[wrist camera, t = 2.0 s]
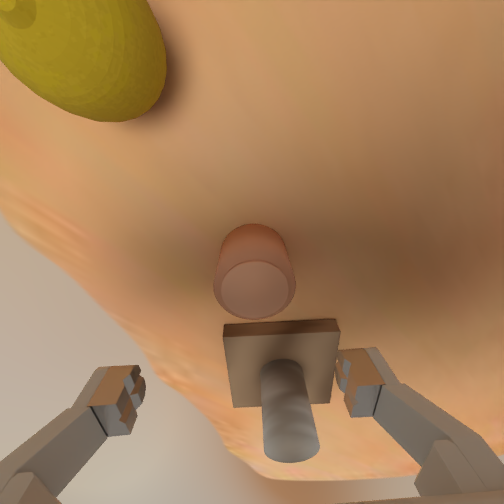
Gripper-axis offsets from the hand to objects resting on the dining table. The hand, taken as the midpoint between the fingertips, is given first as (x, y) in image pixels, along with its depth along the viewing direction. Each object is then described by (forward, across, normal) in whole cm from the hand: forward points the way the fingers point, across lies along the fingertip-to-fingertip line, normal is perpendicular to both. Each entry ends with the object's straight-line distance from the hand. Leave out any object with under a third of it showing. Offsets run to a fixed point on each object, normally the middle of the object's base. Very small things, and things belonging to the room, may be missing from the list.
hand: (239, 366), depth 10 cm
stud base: (+10, -3, +12) cm, 16 cm away
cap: (+10, -1, 0) cm, 10 cm away
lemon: (+10, +5, -12) cm, 17 cm away
